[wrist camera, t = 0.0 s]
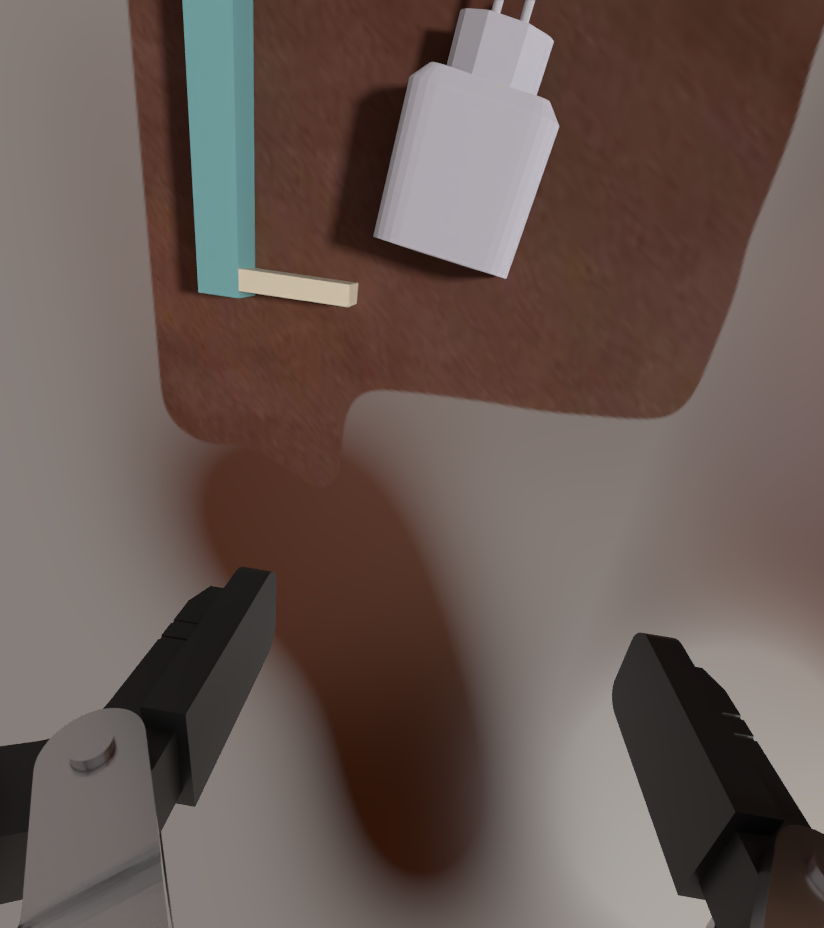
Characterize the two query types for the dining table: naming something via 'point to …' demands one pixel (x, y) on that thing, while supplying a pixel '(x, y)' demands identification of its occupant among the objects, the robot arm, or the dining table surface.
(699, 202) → the dining table surface
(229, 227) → the stop bay
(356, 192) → the dining table surface
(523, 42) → the charger
